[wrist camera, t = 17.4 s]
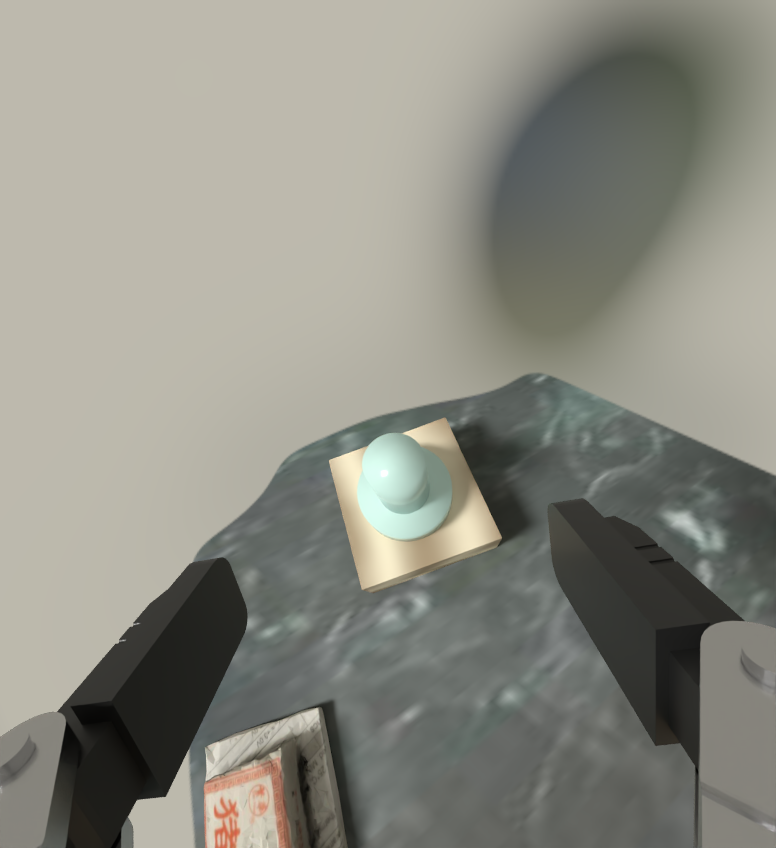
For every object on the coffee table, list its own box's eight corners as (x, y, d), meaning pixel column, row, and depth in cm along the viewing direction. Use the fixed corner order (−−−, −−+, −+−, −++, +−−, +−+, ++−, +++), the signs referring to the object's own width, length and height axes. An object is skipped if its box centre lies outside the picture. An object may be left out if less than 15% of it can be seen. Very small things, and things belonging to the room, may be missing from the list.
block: (446, 439, 40) (445, 417, 35) (496, 548, 34) (502, 538, 29) (342, 477, 39) (328, 460, 35) (374, 593, 34) (362, 589, 29)
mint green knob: (439, 444, 34) (435, 399, 27) (463, 529, 30) (466, 503, 23) (356, 464, 34) (331, 425, 27) (369, 551, 30) (344, 531, 24)
